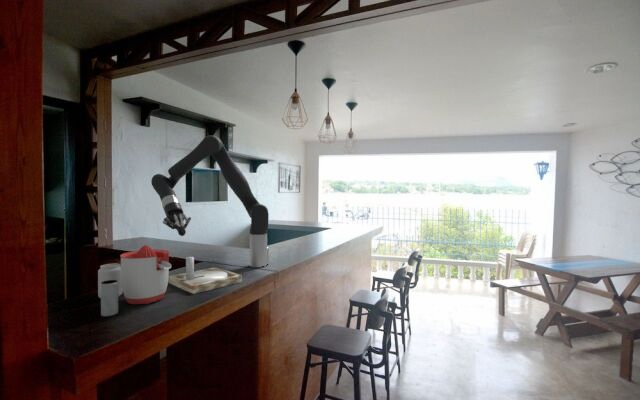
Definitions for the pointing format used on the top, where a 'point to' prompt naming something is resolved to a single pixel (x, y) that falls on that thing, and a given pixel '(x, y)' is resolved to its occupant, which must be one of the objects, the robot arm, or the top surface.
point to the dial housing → (197, 288)
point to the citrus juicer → (144, 275)
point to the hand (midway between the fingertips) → (183, 234)
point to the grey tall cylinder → (109, 297)
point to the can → (109, 276)
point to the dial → (201, 273)
